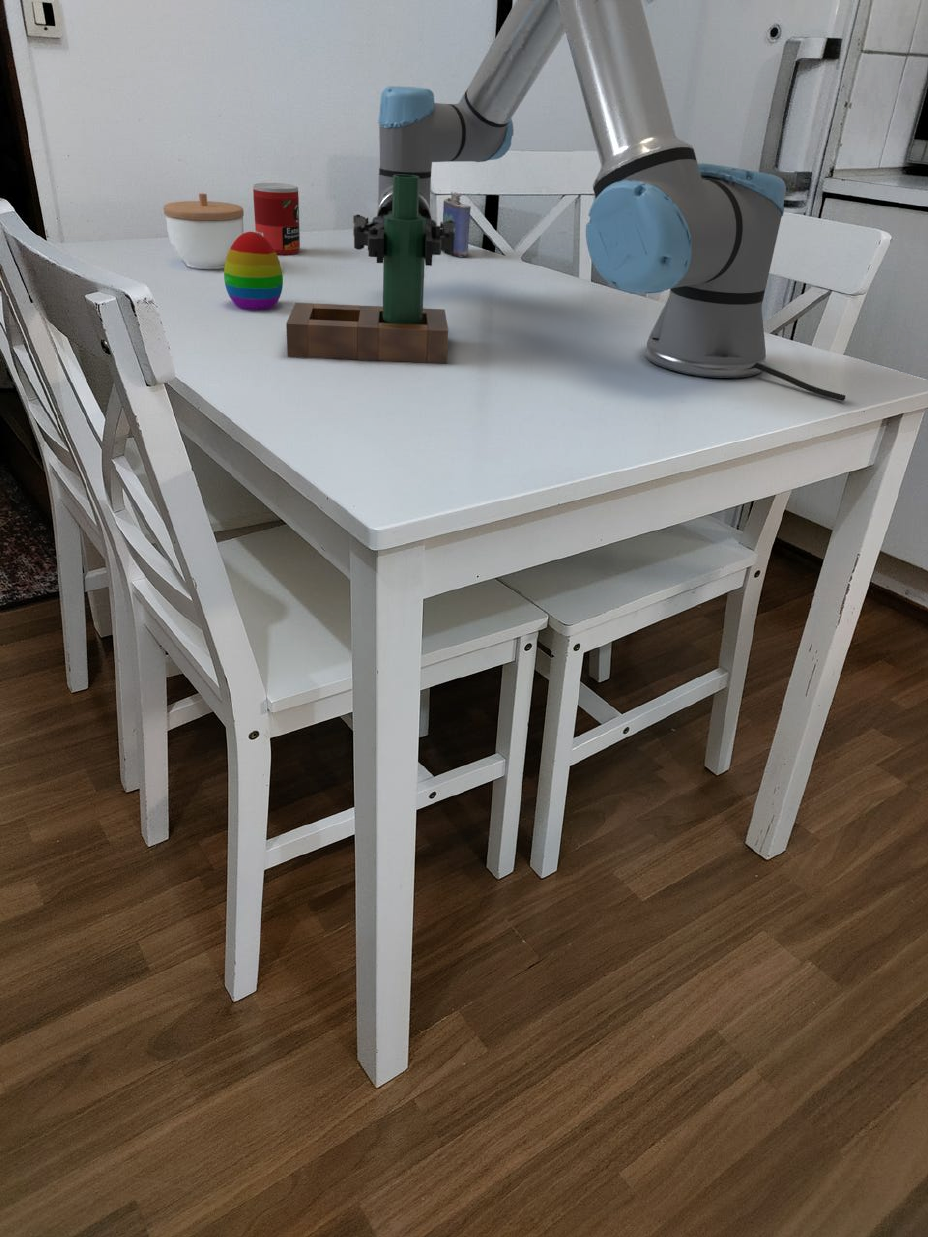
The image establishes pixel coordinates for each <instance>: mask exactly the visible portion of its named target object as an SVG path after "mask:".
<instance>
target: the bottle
mask: <svg viewBox="0 0 928 1237" xmlns="http://www.w3.org/2000/svg"><path fill="white" fill-rule="evenodd" d="M418 205H419V176H415V175H406V174H397V175H393V204H392V214H389V215H385V216H384V257H383V263H382V264H383V266H382V267H383V269H382V270H383V272H382V307H383V320H384V321H386V322H389V323H398V324H417V323H420V322H422V317H423V308H424V290H425V288H424V286H425V235H426V218H425V217H422V216H418Z"/></svg>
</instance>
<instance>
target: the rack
mask: <svg viewBox="0 0 928 1237" xmlns="http://www.w3.org/2000/svg"><path fill="white" fill-rule="evenodd" d="M285 324H286V325H285V326H286V327H285V328H286V349H287V350H286V351H287V352H286V353H287V357H289V358H306V359H308V358H309V359H310V358H311V359H330V360H331V359H333V360H353V361H356V360H358V361H380V362H381V361H383V362H407V363H432V364H433V363H434V364H447V363H448V348H449V346H448V345H449V327H448V322H447V315H446V309H443V308H426V307H425V308H424V307H423V317H422V322H420V323H417V324H398V323H389V322H386V321H384V320H383V306H382V305H381V306H380V305H379V306H378V305H357V304H334V303H313V302H312V303H311V302H295V303H294V305H293V307H292V309H291V312H290V314H289V316H288V319H287V321H286V323H285Z"/></svg>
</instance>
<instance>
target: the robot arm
mask: <svg viewBox="0 0 928 1237" xmlns="http://www.w3.org/2000/svg"><path fill="white" fill-rule="evenodd" d="M650 33H651V32H650V29H649V26H648V21H647V18H646V14H645V10H644V6H643V3H642V0H515V2H514V4H513V6H512V7H511V10H510V11H509V14H507V17H506V19H505V20H504V22H503V24H502V25H501V27H500V30H499V31H498V33H497V35H496V37H495V38H494V40H493V42H492V44H491V45H490V47H489V49H488V50H487V52H486V55H485V56H484V58H483V60H482V62H481V63H480V65H479V66H478V69H477V70H476V72H475V74H474V76H473V77H472V78H471V81H470V83H469V85H468V86H467V89H466V90H465V91H464V93H463V94H462V96H461V99H460V100H459V102H458V103H441V102H435V94H434V92H433V90H432V89H430V88H424V87H416V86H415V87H414V86H413V87H412V86H400V85H399V86H398V85H395V86H394V85H391V86H390V85H389V86H386V87H384V89H383V90H382V92H381V95H380V103H379V112H378V113H379V114H378V126H379V127H378V128H379V129H378V132H379V134H378V135H379V136H378V138H379V168H378V197H377V199H378V200H377V212H376V216H374V217H373V218H372V221H369V216H363V215H360V214H359V213H358V214H355V215H353V217H352V219H353V221H352V222H353V223H352V228H353V230H352V231H353V232H352V233H353V234H352V235H353V247H354V249H356V250H357V251H358V250H363V249H365V246H366V247H367V251H368V257H370V258H376V264H383V262H384V216H385V215H389V214H392V204H393V175H397V174H406V175H415V176H419V205H418V216H422V217H425V218H426V235H425V264H424V266H427V267H433V256H441V255H442V250H444V251H443V253H444V254H446V255H448V256H452V255H451V254H454V240H455V221H453V220H449V221H445V222H443V221H440V222H439V225H437V222H436V220H434V219H432V212H431V209H430V208H431V187H432V186H431V182H432V170H433V163H446V162H447V163H448V162H454V163H455V162H456V163H457V162H460V163H461V162H472V163H473V162H474V163H485V162H487V161H494V160H495V161H496V160H499V159H501V158H502V157H504V156H505V155H506V154H507V153H508V151H509V149H510V148H511V146H512V139H513V137H514V124H513V117H514V115H515V114H516V112H517V110H518V109H519V107H520V106H521V104H522V102H523V100H524V99H525V97H526V96H527V94H528V93H529V91H530V89H531V88H532V86H533V84H534V83H535V81H536V80H537V79H538V77H539V75H540V73H541V72H542V70H543V69H544V67H545V65H546V64H547V62H548V61H549V59H550V58H551V56H552V54H553V53H554V51H555V50H556V49H557V46H558V45H559V43H560V42H561V40H562V38H563V37H564V35H566V36H565V37H566V40H567V43H568V47H569V50H570V54H571V57H572V62H573V65H574V69H575V72H576V76H577V80H578V84H579V88H580V92H581V95H582V99H583V103H584V106H585V107H584V108H585V110H586V114H587V118H588V122H589V125H590V129H591V133H592V137H593V140H594V144H595V148H596V152H597V156H598V159H599V162H600V170H599V172H598V174H597V176H596V178H595V179H594V181H593V183H592V190H593V193H594V196H595V199H594V201H593V202H592V205H591V206H590V208H589V212H588V217H589V218H590V219H589V221H588V222H587V223H586V225H585V240H586V248H587V252H588V254H589V257H590V260H591V263H592V264H593V266H594V268H595V269H596V271H597V272H598V273H599V275H600V276H601V277H602V278H603V280H605V281H606V282H607V283H608V284H610V285H611V286H613V287H615V288H616V289H618V290H620V291H623V292H626V293H633V294H640V293H644V294H659V293H663V292H665V291H668V290H669V294H668V297H667V300H666V302H665V303H664V305H663V307H662V310H661V311H660V314H659V316H658V318H657V320H656V321H655V324H654V326H653V329H652V330H651V332H650V334H649V336H648V339H647V342H646V347H645V353H644V354H645V357H646V359H647V360H648V361H650V362H651V363H653V364H654V365H657V366H659V367H661V368H663V369H667V370H670V371H673V372H677V373H682V374H686V375H692V376H697V377H706V378H716V379H717V378H718V379H737V378H738V379H739V378H747V377H753V376H755V375H758V374H760V373H761V372H763V373H766V374H768V375H771V376H774V377H775V378H779V379H781V380H783V381H785V382H788V383H789V384H792V385H794V386H795V387H799V388H801V389H802V390H806V391H808V392H810V393H813V394H816V395H819V396H823V397H826V398H830V399H834V400H837V401H841V402H844V401H845V399H846V395H845V394H842V393H838V392H835V391H831V390H826V389H824V388H820V387H817V386H814V385H811V384H809V383H807V382H804V381H802V380H800V379H798V378H795V377H794V376H792V375H788V374H787V373H784V372H782V371H780V370H778V369H777V370H776V369H774V368H772V367H769V366H766V365H765V361H766V356H767V354H766V353H767V352H766V339H765V330H764V318H763V303H764V298H765V293H766V289H767V284H768V279H769V274H770V271H771V265H772V262H773V257H774V253H775V248H776V244H777V239H778V235H779V231H780V226H781V222H782V218H783V216H784V213H785V207H784V204H785V199H786V198H785V197H786V193H787V186H786V183H785V181H784V180H783V178H781V177H780V176H778V175H775V174H770V173H766V172H760V171H754V170H748V169H744V168H739V167H732V166H725V165H719V164H713V163H711V164H710V163H703V162H698V159H697V156H696V152H695V148H694V146H693V145H691V143H688V142H685V141H683V140H681V139H680V138H678V137H677V136H676V131H675V129H674V124H673V120H672V116H671V112H670V108H669V104H668V100H667V96H666V92H665V89H664V84H663V80H662V77H661V73H660V69H659V65H658V61H657V57H656V53H655V49H654V45H653V41H652V38H651V34H650Z"/></svg>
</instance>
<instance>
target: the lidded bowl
mask: <svg viewBox="0 0 928 1237" xmlns="http://www.w3.org/2000/svg"><path fill="white" fill-rule="evenodd" d="M207 195H208V194H207V193H204V192H203V193H198V199H199V200H184V201H174V202H169V203H166V204H164V205H163V214H164V215H165V216H164V218H165V226H166V231H167V236H168V239H169V242H170V244H171V246H172V249H173V251H174V252H175V254H177V256H178V257H179V258H180V259H181V260H182V261H183V262H184V263H185V266H186V267H189V268H192V269H197V270H222V269H223V270H224V267H225V261H226V257H227V254H228V252H229V249H230V247H231V246H232V244H233V243H234V241H235V240H236V239H237V238H238V237H239V236H240V235H242V234H243V233H244V214H245V213H244V208H243V207H242V206H241V205H238V204H236V203H230V202H223V201H222V202H221V201H211V200H210V201H209V200H208V196H207Z"/></svg>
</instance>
